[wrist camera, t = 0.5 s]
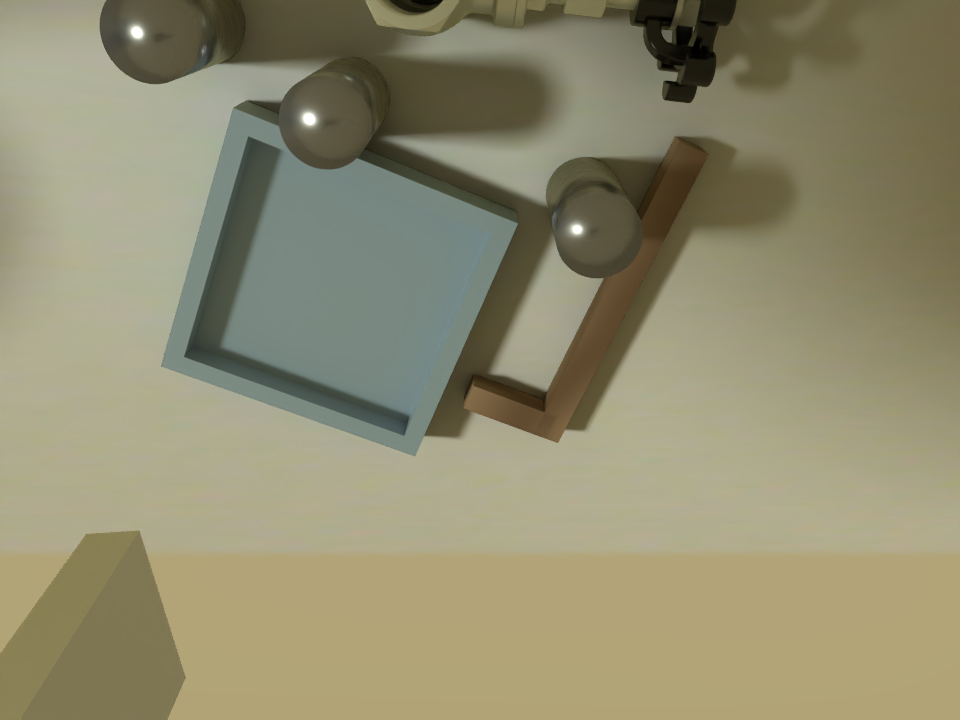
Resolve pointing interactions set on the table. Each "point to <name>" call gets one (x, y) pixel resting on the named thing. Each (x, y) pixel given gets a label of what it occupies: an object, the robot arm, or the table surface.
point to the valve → (652, 5)
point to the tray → (334, 284)
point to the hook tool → (595, 312)
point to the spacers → (356, 118)
